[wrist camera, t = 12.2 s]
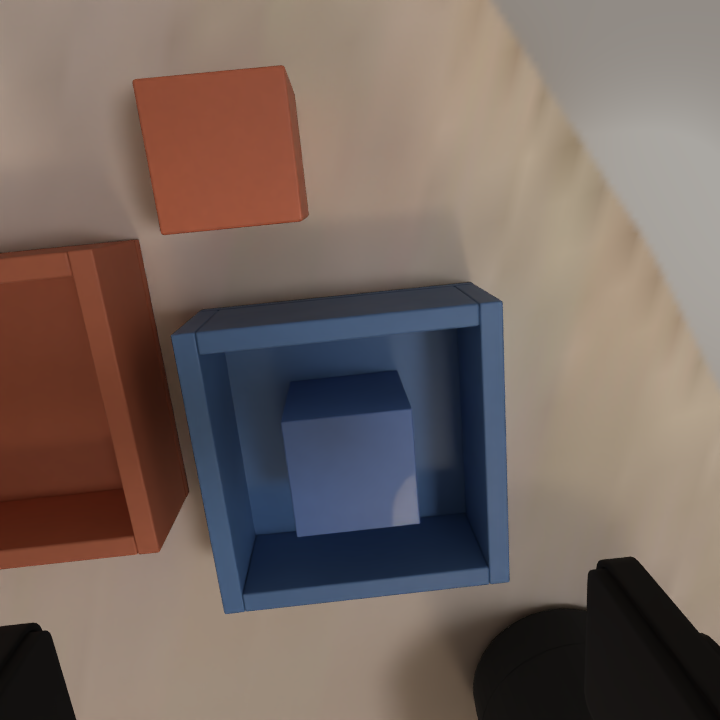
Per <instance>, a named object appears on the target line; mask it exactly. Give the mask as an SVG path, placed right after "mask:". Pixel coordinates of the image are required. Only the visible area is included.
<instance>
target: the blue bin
mask: <svg viewBox="0 0 720 720" xmlns="http://www.w3.org/2000/svg"><path fill="white" fill-rule="evenodd" d="M171 339H172V344H173V350H174V355H175V360H176V365H177V370H178V375H179V381H180V386H181V391H182V396H183V401H184V406H185V412H186V417H187V422H188V427H189V432H190V437H191V443H192V448H193V453H194V458H195V463H196V468H197V474H198V479H199V484H200V489H201V494H202V499H203V505H204V510H205V515H206V520H207V525H208V530H209V536H210V541H211V546H212V551H213V556H214V561H215V567H216V572H217V577H218V582H219V587H220V592H221V598H222V603H223V608H224V613H225V614H230V613H239V612H244V611H245V610H246V611H255V610H264V609H273V608H282V607H291V606H300V605H309V604H317V603H326V602H335V601H344V600H353V599H362V598H371V597H380V596H389V595H398V594H407V593H416V592H425V591H434V590H443V589H451V588H460V587H469V586H478V585H487V584H489V583H490V584H496V583H505V582H509V580H510V577H509V538H508V498H507V459H506V419H505V380H504V340H503V303H502V301H501V300H499V299H498V298H496V297H494V296H493V295H491V294H489V293H488V292H486V291H484V290H483V289H481V288H479V287H478V286H476V285H474V284H473V283H471V282H467V283H458V284H448V285H438V286H428V287H419V288H409V289H399V290H389V291H379V292H370V293H360V294H350V295H340V296H331V297H321V298H311V299H301V300H291V301H282V302H272V303H262V304H252V305H242V306H233V307H223V308H213V309H203V310H201V311H199V312H198V313H197V314H196V315H195V316H193V317H192V318H191V319H190V320H189V321H187V322H186V323H185V324H184V325H183V326H182V327H180V328H179V329H178V330H177V331H176V332H174V333H173V334H172V335H171ZM396 370H397V371H398V373H399V376H400V379H401V381H402V384H403V387H404V389H405V392H406V394H407V397H408V400H409V402H410V405H411V408H412V415H413V429H414V442H415V456H416V469H417V483H418V496H419V510H420V524H413V525H403V526H394V527H385V528H376V529H367V530H358V531H349V532H340V533H330V534H321V535H312V536H303V537H297V534H296V527H295V520H294V513H293V506H292V499H291V492H290V485H289V478H288V471H287V464H286V457H285V451H284V444H283V437H282V430H281V419H282V415H283V411H284V406H285V402H286V398H287V394H288V389H289V385H290V382H291V381H300V380H310V379H319V378H329V377H339V376H348V375H358V374H367V373H377V372H386V371H396Z"/></svg>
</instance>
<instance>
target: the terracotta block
mask: <svg viewBox="0 0 720 720" xmlns="http://www.w3.org/2000/svg"><path fill="white" fill-rule="evenodd" d="M133 88H134V93H135V98H136V104H137V109H138V114H139V120H140V125H141V130H142V135H143V141H144V146H145V151H146V157H147V162H148V167H149V173H150V178H151V183H152V188H153V194H154V199H155V204H156V210H157V215H158V220H159V225H160V231H161V233H162V234H163V235H169V234H179V233H189V232H199V231H209V230H219V229H229V228H239V227H249V226H259V225H269V224H279V223H290V222H300V221H302V220H304V219H305V218H307V217H308V215H309V214H308V205H307V197H306V188H305V180H304V171H303V163H302V154H301V145H300V137H299V128H298V120H297V111H296V103H295V94H294V92H293V89H292V86H291V83H290V81H289V78H288V75H287V73H286V70H285V67H284V66H282V65H280V66H269V67H258V68H248V69H237V70H227V71H216V72H206V73H195V74H185V75H174V76H163V77H153V78H142V79H135V80H133Z"/></svg>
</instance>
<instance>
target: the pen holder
mask: <svg viewBox="0 0 720 720" xmlns="http://www.w3.org/2000/svg"><path fill="white" fill-rule="evenodd" d="M586 615H587V611H583V610H576V609H555V610H548V611H543V612H539V613H536V614H533V615H530V616H528V617H525V618H523V619H521V620H519V621H517V622H516V623H514V624H512V625H511V626H509V627H508V628H506V629H505V630H504V631H503V632H501V633H500V634H499V635H498V636H497V637H496V638H495V639H494V640H493V642H492V643H491V644H490V645H489V647H488V648H487V650H486V651H485V653H484V654H483V656H482V658H481V660H480V662H479V664H478V666H477V669H476V672H475V677H474V683H473V694H474V701H475V707H476V712H477V717H478V720H593V719H592V717H591V715H590V712H589V710H588V707H587V704H586V700H585V694H584V678H585V646H586Z"/></svg>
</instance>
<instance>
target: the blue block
mask: <svg viewBox="0 0 720 720" xmlns="http://www.w3.org/2000/svg"><path fill="white" fill-rule="evenodd" d="M281 430H282V437H283V444H284V451H285V457H286V464H287V471H288V478H289V485H290V492H291V499H292V506H293V513H294V520H295V527H296V534H297V537H303V536H312V535H321V534H330V533H340V532H349V531H358V530H367V529H376V528H385V527H394V526H403V525H413V524H420V510H419V496H418V483H417V469H416V456H415V442H414V429H413V415H412V408H411V405H410V402H409V400H408V397H407V394H406V392H405V389H404V387H403V384H402V381H401V379H400V376H399V373H398V371H397V370H396V371H386V372H377V373H367V374H358V375H348V376H339V377H329V378H319V379H310V380H300V381H291V382H290V385H289V389H288V394H287V398H286V402H285V406H284V411H283V415H282V419H281Z"/></svg>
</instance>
